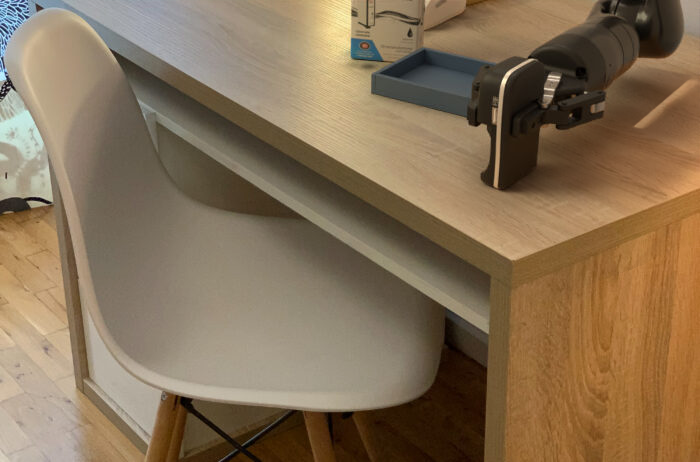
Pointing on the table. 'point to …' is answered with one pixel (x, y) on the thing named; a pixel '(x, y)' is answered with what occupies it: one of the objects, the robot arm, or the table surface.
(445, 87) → the tray
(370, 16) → the ink box
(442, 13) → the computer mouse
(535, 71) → the battery charger
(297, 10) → the table surface
